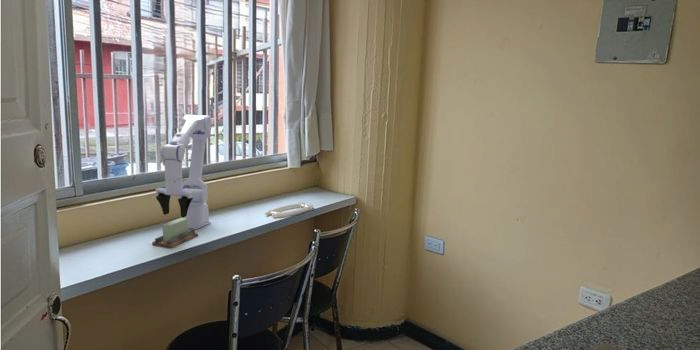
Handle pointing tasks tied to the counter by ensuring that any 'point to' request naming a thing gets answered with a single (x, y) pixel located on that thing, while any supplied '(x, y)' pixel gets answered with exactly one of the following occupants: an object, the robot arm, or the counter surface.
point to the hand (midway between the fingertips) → (175, 215)
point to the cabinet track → (175, 239)
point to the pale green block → (175, 228)
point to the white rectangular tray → (277, 214)
